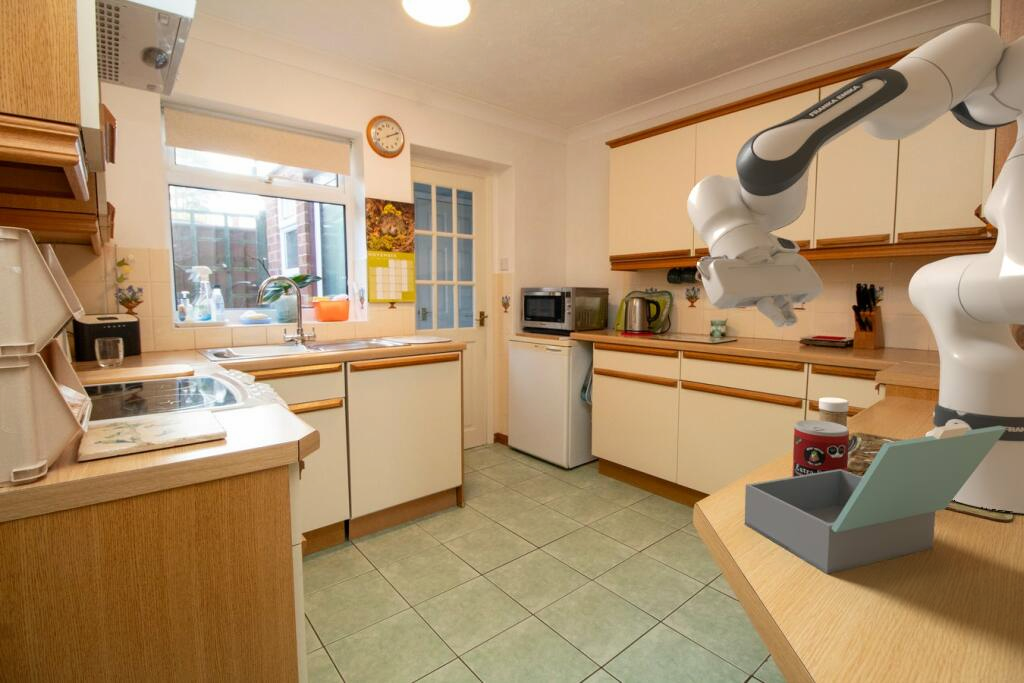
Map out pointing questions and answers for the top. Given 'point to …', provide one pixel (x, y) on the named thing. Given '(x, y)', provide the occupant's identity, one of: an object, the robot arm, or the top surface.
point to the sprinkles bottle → (833, 410)
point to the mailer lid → (917, 475)
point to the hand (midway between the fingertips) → (787, 324)
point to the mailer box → (829, 522)
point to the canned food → (819, 447)
